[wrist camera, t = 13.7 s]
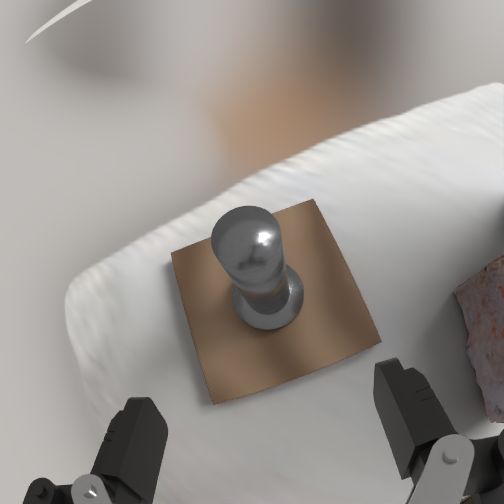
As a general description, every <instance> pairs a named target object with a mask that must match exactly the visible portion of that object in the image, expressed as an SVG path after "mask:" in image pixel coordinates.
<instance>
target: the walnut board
mask: <svg viewBox="0 0 504 504" xmlns="http://www.w3.org/2000/svg"><path fill="white" fill-rule="evenodd" d="M272 215H273V216H274V217H275V218H276V220H277V221H278V223H279V225H280V229H281V234H282V241H283V248H284V255H285V262H286V264H287V265H289V266H290V267H291V268H293V269H294V270H295V271H296V272H297V274H298V275H299V277H300V279H301V281H302V284H303V288H304V301H303V306H302V309H301V311H300V313H299V315H298V316H297V317H296V319H295V320H294V321H293V322H291V323H290V324H289V325H287V326H286V327H284V328H281V329H278V330H274V331H262V330H258V329H255V328H253V327H251V326H250V325H248V324H247V323H246V322H245V321H244V320H243V319H242V318H241V317H240V316H239V315H238V313H237V312H236V310H235V307H234V304H233V299H232V292H233V287H234V283H233V281H232V280H231V278H230V277H229V275H228V274H227V272H226V271H225V269H224V268H223V267H222V265H221V264H220V262H219V261H218V259H217V258H216V256H215V254H214V252H213V250H212V246H211V237H210V238H207V239H205V240H202V241H200V242H197V243H194V244H192V245H189V246H187V247H184V248H182V249H179V250H177V251H174V252H172V253H171V257H172V261H173V265H174V269H175V273H176V277H177V281H178V285H179V289H180V293H181V297H182V301H183V305H184V308H185V312H186V316H187V319H188V323H189V327H190V330H191V334H192V337H193V341H194V344H195V347H196V351H197V354H198V357H199V361H200V364H201V367H202V370H203V374H204V377H205V380H206V383H207V386H208V389H209V392H210V395H211V398H212V401H213V404H214V405H216V404H219V403H223V402H226V401H230V400H233V399H236V398H240V397H243V396H246V395H249V394H252V393H256V392H259V391H262V390H265V389H268V388H271V387H273V386H276V385H279V384H282V383H285V382H288V381H290V380H293V379H296V378H298V377H301V376H304V375H306V374H309V373H311V372H314V371H316V370H319V369H321V368H324V367H326V366H329V365H331V364H333V363H336V362H338V361H340V360H343V359H345V358H347V357H350V356H352V355H354V354H356V353H359V352H361V351H363V350H365V349H367V348H369V347H371V346H374V345H376V344H378V343H380V342H382V341H381V339H380V336H379V334H378V332H377V329H376V327H375V325H374V322H373V320H372V318H371V316H370V313H369V311H368V309H367V307H366V304H365V302H364V300H363V298H362V295H361V293H360V291H359V289H358V287H357V285H356V282H355V280H354V278H353V276H352V274H351V272H350V270H349V268H348V266H347V264H346V261H345V259H344V257H343V255H342V253H341V251H340V249H339V247H338V245H337V243H336V241H335V239H334V237H333V235H332V233H331V231H330V229H329V228H328V226H327V224H326V222H325V220H324V218H323V216H322V214H321V212H320V210H319V208H318V207H317V205H316V203H315V201H314V199H311V200H308V201H305V202H303V203H300V204H297V205H295V206H292V207H289V208H286V209H284V210H281V211H278V212H276V213H273V214H272Z"/></svg>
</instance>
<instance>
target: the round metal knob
mask: <svg viewBox="0 0 504 504" xmlns="http://www.w3.org/2000/svg"><path fill="white" fill-rule="evenodd" d="M211 246H212V250H213V252H214V254H215V256H216V258H217V259H218V261H219V262H220V264H221V265H222V267H223V268H224V269H225V271H226V272H227V274H228V275H229V277H230V278H231V280H232V281H233V283H234V287H233V292H232V299H233V304H234V307H235V310H236V312H237V313H238V315H239V316H240V317H241V318H242V319H243V320H244V321H245V322H246V323H247V324H248V325H250V326H251V327H253V328H255V329H258V330H262V331H274V330H278V329H281V328H284V327H286V326H287V325H289V324H290V323H291V322H293V321H294V320H295V319H296V317H297V316H298V315H299V313H300V311H301V309H302V306H303V301H304V288H303V284H302V281H301V279H300V277H299V275H298V274H297V272H296V271H295V270H294V269H293V268H291V267H290V266H289V265H287V264H286V262H285V255H284V248H283V241H282V234H281V229H280V225H279V223H278V221H277V220H276V218H275V217H274V216H273V215H272V214H271V213H270V212H268V211H267V210H265V209H263V208H260V207H256V206H242V207H238V208H235V209H233V210H230V211H229V212H227V213H226V214H224V215H223V216H222V217H221V218H220V219H219V220H218V222H217V223H216V225H215V226H214V228H213V231H212V235H211Z"/></svg>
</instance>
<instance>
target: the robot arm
mask: <svg viewBox="0 0 504 504" xmlns="http://www.w3.org/2000/svg"><path fill="white" fill-rule="evenodd" d="M373 395H374V402H375V406H376V409H377V411H378V414H379V417H380V419H381V422H382V425H383V427H384V430H385V433H386V436H387V438H388V441H389V444H390V447H391V450H392V452H393V455H394V458H395V461H396V464H397V467H398V470H399V473H400V476H401V479H402V480H403V479H406V478H408V477H411V478H412V481H413V484H414V486H413V488H412V490H411V492H410V494H409V497H408V499H407V501H406V503H405V504H460V502H461V499H462V496H467V495H473V498H474V501H475V504H504V429H503V431H502V432H501V433H500V435H499V436H494V437H489V438H484V439H478V440H471V439H468V438H466V437H465V436H462V435H459V434H458V433H457V432H456V431H455V429H454V428H453V426H452V424H451V422H450V420H449V418H448V417H447V415H446V413H445V411H444V409H443V407H442V406H441V404H440V402H439V400H438V399H437V398H436V396H435V393H434V392H433V390H432V389H431V388H430V385H429V383H428V381H427V380H426V378H425V376H424V375H423V374H421V373H420V372H419V371H417V370H416V369H414V368H410V369H407V370H404V369H403V367H402V365H401V363H400V362H399V360H398V359H397V358H392V359H389V360H386V361H382V362H379V363H376V364H375V371H374V389H373ZM167 437H168V427H167V424H166V421H165V420H164V418H163V417H162V415H161V414H160V412H159V410H158V409H157V407H156V406H155V404H154V403H153V401H152V400H151V398H149V397H131V398H129V399H128V400H127V403H126V405H125V408H124V410H123V411H119V412H118V413H117V414H116V415H115V417H114V418H113V419H112V420H111V422H110V425H109V427H108V430H107V433H106V435H105V437H104V441H103V442H102V445H101V447H100V450H99V452H98V455H97V457H96V460H95V462H94V466H93V468H92V470H91V472H90V474H87V475H83V476H81V477H79V478H78V479H76V480H75V482H74V483H73V484H71V485H59V486H56V485H54V484H53V483H52V482H51V481H50V480H48V479H46V478H38V479H36V480H34V481H33V482H32V483H31V484H30V486H29V488H28V491H27V493H26V496H25V499H24V501H23V504H152V503H153V498H154V494H155V489H156V485H157V480H158V476H159V471H160V467H161V463H162V458H163V454H164V450H165V446H166V441H167Z"/></svg>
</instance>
